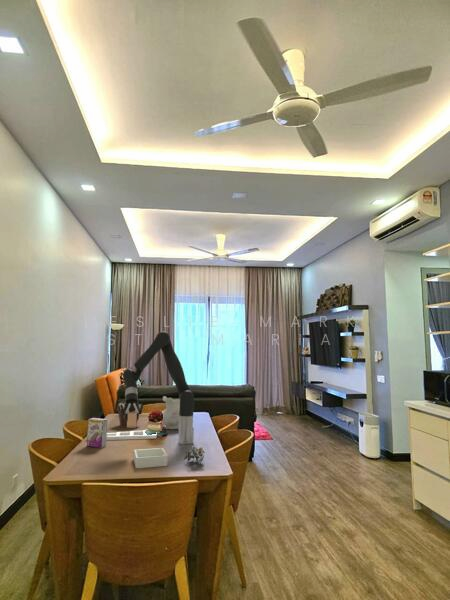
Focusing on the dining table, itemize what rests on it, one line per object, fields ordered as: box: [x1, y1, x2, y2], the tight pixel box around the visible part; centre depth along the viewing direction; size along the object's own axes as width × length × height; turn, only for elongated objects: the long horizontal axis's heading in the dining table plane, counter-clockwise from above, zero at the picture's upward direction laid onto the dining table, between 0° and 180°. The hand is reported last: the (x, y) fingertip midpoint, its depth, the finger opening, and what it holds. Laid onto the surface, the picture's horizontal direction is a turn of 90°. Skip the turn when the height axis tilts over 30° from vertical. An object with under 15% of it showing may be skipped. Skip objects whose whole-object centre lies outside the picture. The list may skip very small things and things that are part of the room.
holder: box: [106, 429, 158, 441], centre depth 253 cm, size 45×18×3 cm, turn 101°
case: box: [116, 401, 140, 428], centre depth 289 cm, size 18×20×18 cm
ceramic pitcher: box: [161, 395, 180, 430], centre depth 285 cm, size 22×20×25 cm
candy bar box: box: [86, 417, 108, 449], centre depth 227 cm, size 11×5×16 cm, turn 71°
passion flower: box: [183, 444, 205, 466], centre depth 195 cm, size 11×11×12 cm
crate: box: [133, 447, 169, 469], centre depth 196 cm, size 16×16×5 cm
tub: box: [126, 412, 137, 429], centre depth 215 cm, size 5×5×8 cm
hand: (132, 420), depth 213 cm, fingers closed on tub, 5 cm apart
